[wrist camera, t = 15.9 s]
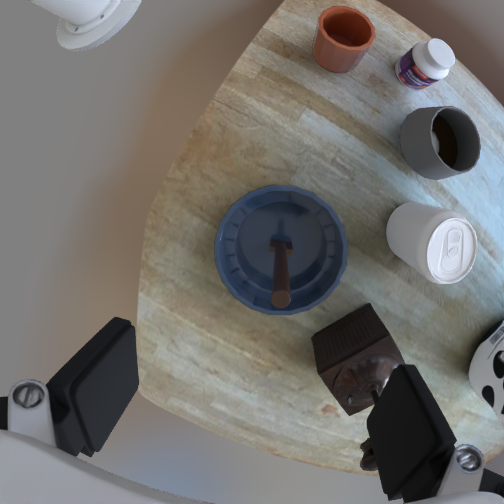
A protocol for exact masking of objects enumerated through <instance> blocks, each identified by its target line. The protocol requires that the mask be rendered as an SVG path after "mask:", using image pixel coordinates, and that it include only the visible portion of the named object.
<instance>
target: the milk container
mask: <svg viewBox="0 0 504 504" xmlns="http://www.w3.org/2000/svg"><path fill="white" fill-rule="evenodd" d="M469 381H470V384H471V386H472V388H473V390H474V392H475V394H476V395H477V396H478V397H479V398H480V399H482V400H483V401H485V402H486V403H488V404H489V405H490V406H491V407H492V409H493V410H494V412H495V413H496V415H497V417H498V418H499V419H500V421H501V423H502V424H503V426H504V320H502V321H501V322H499V323H498V324H497V325H495V326H494V327H493V328H492V329H491V330H490V331H489V332H488V334H487V335H486V336H485V337H484V338H483V340H482V341H481V343H480V344H479V346H478V347H477V349H476V351H475V353H474V355H473V358H472V360H471V363H470V367H469Z"/></svg>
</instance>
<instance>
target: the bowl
mask: <svg viewBox="0 0 504 504" xmlns="http://www.w3.org/2000/svg"><path fill="white" fill-rule="evenodd" d="M271 239H274V240H280V241H286V242H291V243H292V246H293V254H292V255H287V256H288V269H289V282H290V296H291V301H290V303H289V305H288V306H286V307H284V308H277V307H275V306H274V305H273V304H272V302H271V293H272V281H273V269H274V257H275V252H269V247H270V241H271ZM214 251H215V264H216V267H217V270H218V272H219V275H220V278H221V280H222V282H223V284H224V285H225V286H226V287H227V289H228V290H229V291H230V292H231V294H232V295H233V296H234V297H235V298H236V299H237V300H239V301H240V302H242V303H243V304H245V305H246V306H248V307H249V308H251V309H253V310H256V311H259V312H263V313H266V314H269V315H292V314H296V313H299V312H303V311H307V310H309V309H311V308H313V307H314V306H316V305H317V304H319V303H321V302H322V301H324V300H325V299H326V298H327V297H328V296H329V295H330V294H331V293H332V291H333V290H334V289H335V288H336V287H337V285H338V284H339V282H340V280H341V278H342V275H343V273H344V270H345V268H346V265H347V255H348V242H347V238H346V234H345V230H344V226H343V224H342V222H341V220H340V219H339V217H338V216H337V214H336V213H335V211H334V210H333V208H332V207H331V206H330V205H329V204H328V203H326V202H325V201H324V200H322V199H321V198H320V197H319V196H317V195H316V194H315V193H313V192H310V191H308V190H305V189H302V188H299V187H296V186H294V185H269V186H266V187H263V188H260V189H257V190H254V191H251V192H249V193H248V194H246V195H245V196H244V197H242V198H241V199H240V200H238V201H237V202H236V203H234V204H233V205H232V206H231V207H230V209H229V210H228V212H227V213H226V215H225V216H224V217H223V219H222V220H221V222H220V224H219V227H218V231H217V234H216V238H215V241H214Z"/></svg>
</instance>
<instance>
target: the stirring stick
mask: <svg viewBox="0 0 504 504" xmlns="http://www.w3.org/2000/svg"><path fill="white" fill-rule="evenodd" d="M269 252H275V257H274V269H273V281H272V293H271V302H272V304H273V305H274V306H275V307H277V308H284V307H286V306H288V305H289V303H290V301H291V296H290V282H289V269H288V256H287V255H292V254H293V246H292V243H291V242H286V241H280V240H274V239H271V241H270V247H269Z"/></svg>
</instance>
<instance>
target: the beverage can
mask: <svg viewBox="0 0 504 504" xmlns="http://www.w3.org/2000/svg"><path fill="white" fill-rule="evenodd" d="M386 238H387V242H388V245H389V247H390V249H391V250H392V252H393V253H394V254H395V255H397V256H398V257H399V258H401V259H402V260H403V261H405V262H406V263H407V264H409V265H410V266H411V267H413V268H414V269H415V270H417V271H418V272H419V273H420V274H422V275H423V276H424V277H426V278H427V279H428V280H430V281H431V282H434V283H437V284H452V283H455V282H457V281H459V280H461V279H462V278H463V277H465V276H466V275H467V273H468V272H469V271H470V269H471V268H472V266H473V264H474V261H475V258H476V254H477V237H476V234H475V231H474V229H473V227H472V226H471V224H470V223H469V222H468V221H467V219H466V218H465V217H464V216H462V215H461V214H459V213H457V212H455V211H451V210H447V209H443V208H439V207H435V206H431V205H426V204H422V203H417V202H407V203H404V204H402V205H400V206H399V207H397V208H396V209H395V210H394V212H393V213H392V214H391V216H390V218H389V220H388V223H387V228H386Z"/></svg>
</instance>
